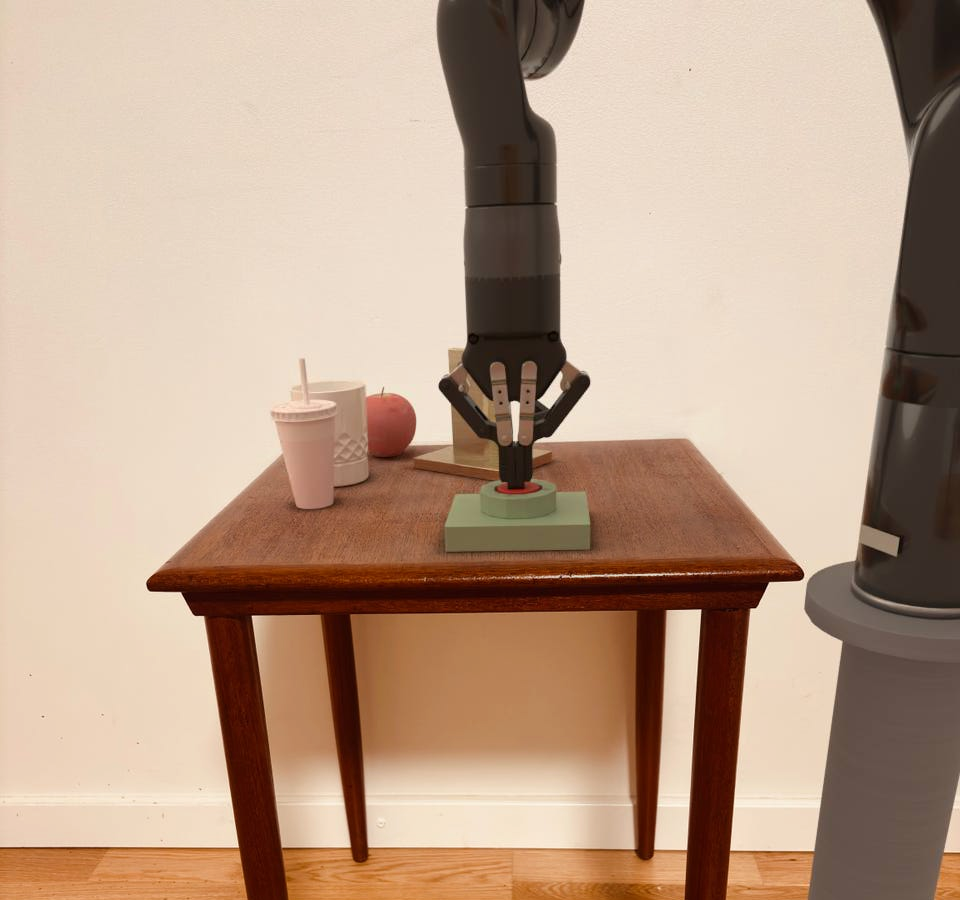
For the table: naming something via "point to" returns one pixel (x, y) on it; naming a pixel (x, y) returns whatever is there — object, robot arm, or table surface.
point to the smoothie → (308, 446)
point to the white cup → (344, 426)
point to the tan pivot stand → (470, 440)
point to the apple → (389, 424)
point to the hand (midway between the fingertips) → (516, 486)
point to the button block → (518, 520)
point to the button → (528, 489)
